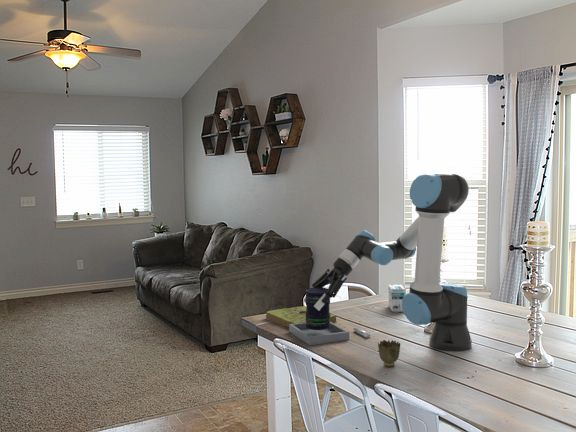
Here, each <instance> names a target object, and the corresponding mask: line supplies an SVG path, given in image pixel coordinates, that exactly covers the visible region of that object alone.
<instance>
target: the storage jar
mask: <svg viewBox="0 0 576 432" xmlns="http://www.w3.org/2000/svg"><path fill="white" fill-rule="evenodd" d="M328 288H329V287H323V288H321V287H315V288H313V287H309V288H306V289H305V297H304V298H305V299H306V301H305V302H306V303H305V302H304V303H305V306H306V328H308V329H311V330H325V329H329V328H330V313H331V312H330V305H331V301H330V300H331V298H329V299H328V301H327V302H326V303H325V304H324V306H323V307H322V308H321V309H320V310H319V311H318V310H317V309H316V308H315V307H314V305H315V304H316V303H317V302H318V300H319V299H320V298H321V297H322V296H323V294H324V293H325V292H327V290H328ZM325 294H326V293H325Z"/></svg>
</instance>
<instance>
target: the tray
mask: <svg viewBox="0 0 576 432" xmlns="http://www.w3.org/2000/svg"><path fill="white" fill-rule="evenodd" d="M288 329H289V331H288V332H289V333H290V332H291V334H292V335H293V334H294V335H293V336H295V337H297V339H299V340H301V341H302V342H304V343H305V344H307V346H313V345H314V346H315V345H316V346H317V345H321V344H329V343H335V342H343V341H349V340H350V331H348V330H347V329H345V328H343V327H341V326H339V325H338V324H336V323H332V322H330V328H329V329H325V330H311V329H308V328H306V322H304V323H296V324H289V328H288Z"/></svg>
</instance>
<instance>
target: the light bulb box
mask: <svg viewBox="0 0 576 432" xmlns="http://www.w3.org/2000/svg"><path fill="white" fill-rule="evenodd" d="M406 290H407V289H406V288H405V287H404V286H403V284H388V308H389V310H390V311H391V312H395V313H396V312H397V313H398V312H403V310H402V299H403V297H404V296H405V295H406V294H407V293H406V292H407V291H406Z"/></svg>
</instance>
